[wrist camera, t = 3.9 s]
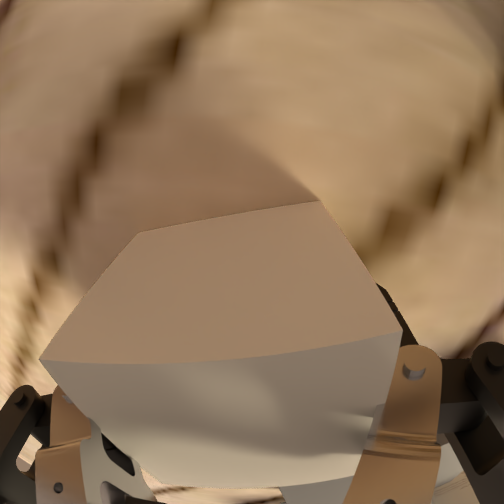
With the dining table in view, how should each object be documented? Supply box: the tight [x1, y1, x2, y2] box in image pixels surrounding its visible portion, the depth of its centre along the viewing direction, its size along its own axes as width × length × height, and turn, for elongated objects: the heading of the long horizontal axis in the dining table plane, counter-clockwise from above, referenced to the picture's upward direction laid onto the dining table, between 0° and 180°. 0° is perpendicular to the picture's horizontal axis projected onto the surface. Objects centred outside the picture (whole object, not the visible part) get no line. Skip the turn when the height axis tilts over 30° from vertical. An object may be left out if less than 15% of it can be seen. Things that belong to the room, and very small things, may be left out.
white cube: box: [39, 201, 403, 489], centre depth 8 cm, size 6×6×6 cm
